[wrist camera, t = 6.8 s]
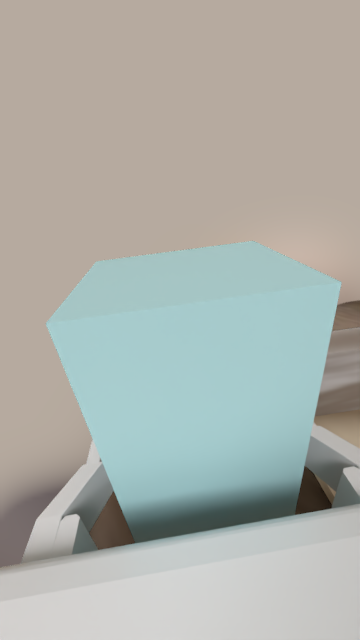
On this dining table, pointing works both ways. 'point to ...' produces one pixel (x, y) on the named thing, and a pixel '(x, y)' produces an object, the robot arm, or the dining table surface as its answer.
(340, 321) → the dining table surface
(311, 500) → the dining table surface
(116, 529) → the dining table surface
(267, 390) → the teal block
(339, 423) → the vise base
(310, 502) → the dining table surface
